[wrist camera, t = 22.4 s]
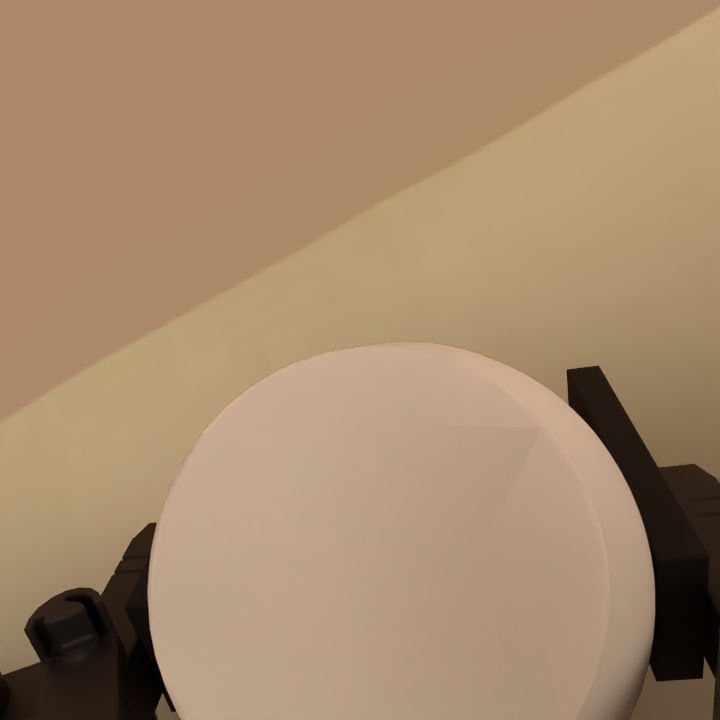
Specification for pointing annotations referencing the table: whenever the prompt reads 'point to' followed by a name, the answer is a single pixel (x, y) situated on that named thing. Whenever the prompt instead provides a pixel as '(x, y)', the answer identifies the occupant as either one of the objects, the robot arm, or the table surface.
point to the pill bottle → (400, 550)
